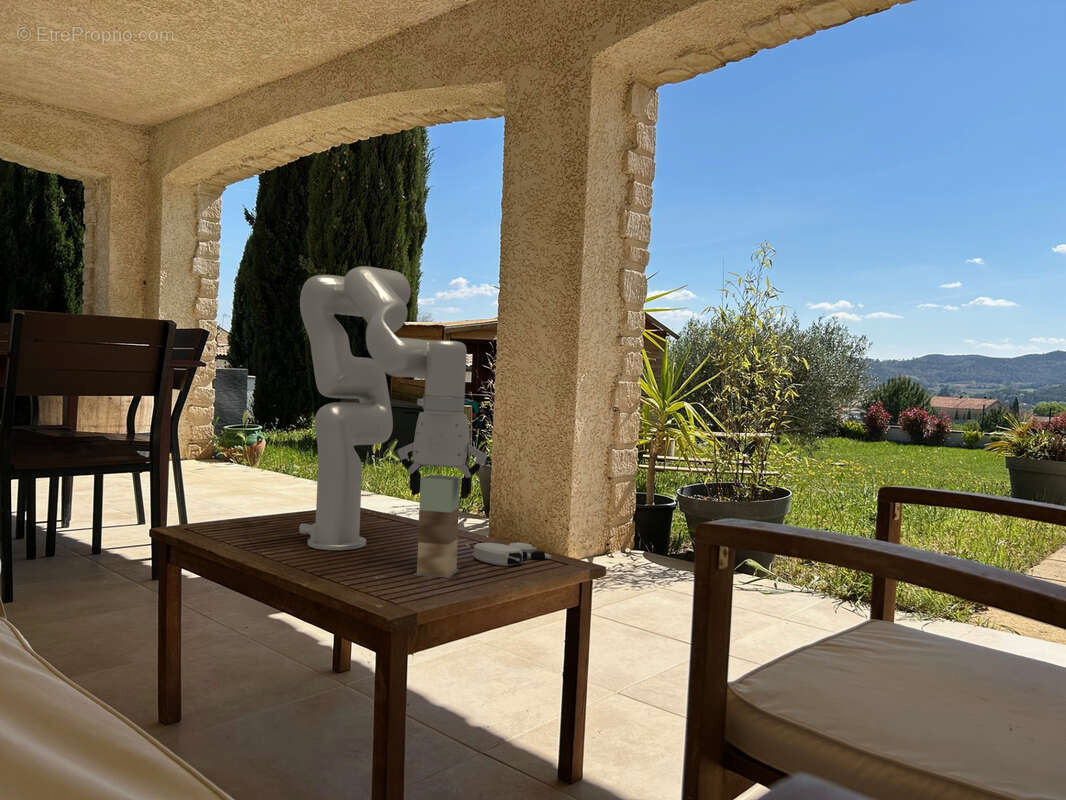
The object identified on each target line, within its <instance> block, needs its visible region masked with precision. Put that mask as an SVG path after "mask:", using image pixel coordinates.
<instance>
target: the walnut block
mask: <svg viewBox="0 0 1066 800" xmlns="http://www.w3.org/2000/svg"><path fill="white" fill-rule="evenodd" d="M459 509H460V507H459V508H458V509H456V510H454V511H452V512H451V513H450V512H437V511H424V510H419V511H418V529H417V530H418V532H417V543H418V542H422V543H434V544H446V545H449V544H451V543H452V542H453V541H455V540H456V539H458V532H459V516H460V515H459V512H460V510H459Z"/></svg>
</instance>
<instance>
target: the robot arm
mask: <svg viewBox="0 0 1066 800" xmlns="http://www.w3.org/2000/svg"><path fill="white" fill-rule="evenodd" d="M411 291H412V290H411V285H410V282H409V281H408V279H407V277H406V276H405V275H404V274H403V273H401V272H399V271H397V270H392V269H385V268H378V267H376V266H375V267H373V266H363V265H362V266H357V267H354V268H352V269H350V270H348V272H347V274H345V276H342V275H341V276H340V275H334V274H317V275H314V276H311V277H309V278H308V279H306V281H305V282H304V284H303V285H302V289H301V291H300V295H299V296H300V297H299V308H300V316H301V318H302V322H303V324H304V325H303V326H304V327H305V329H306V333H307V336H308V338H309V339H308V340H309V344H310V350H311V358H312V365H313V372H314V378H315V384H316V388H317V390H318V392H319V394H321V395H322V396H324V397H326V398H332V399H358V401H359V402H357V401H356V402H355V401H354V402H353V401H348V402H347V401H340V402H339V401H337V402H336V401H334V402H330V403H327V404H325V405H323V406H321V407H320V408H319V409H318V410H317V412H316V414H315V418H314V429H315V437H316V444H317V480H316V482H317V483H316V486H317V487H316V501H315V502H316V504H315V505H316V508H315V509H316V510H315V523H312V524H309V523H300V525H299V528H298V530H299V533H300V534H305V535H306V534H307V535H309V536H310V538H308V539H307V546H308V547H310V548H313V549H316V550H322V551H323V550H325V551H349V550H356V549H361V548H363V547H366V545H367V539H366V538H365V537H363V536H360V527H361V505H362V503H361V501H362V481H363V480H362V478H363V466H362V461H361V458H360V455H358V453H357V451H356V450H355V446H363V445H364V446H368V445H369V446H371V445H381V444H383V443H385V442H388V440H390V437H391V435H392V433H393V428H394V423H393V420H394V419H393V412H392V406H391V400H390V394H389V388H388V382H387V380H388V379H387V376H386V375H388V376H391V377H395V378H417V379H425V382H424V395H423V397H422V398H417V399H416V404H417V406H418V407H419V406H421V407H422V410H423V411H421V412H419V414H418V417H417V421H416V427H415V433H414V438H413V439H414V440H413V442H411V443H410V444H407V445H405V446H402V447H401V448H398V449H397V454H398V457H399V459H400V461H401V464H402V465H403V467H404V468H405V469H406V470H407V472H408V473H409V490H411V496H416V495H418V494H420V486H421V478H422V474H421V472H420V469H421V468H422V467H423V466H428V467H440V468H441V467H442V468H458V469H459V470H460V472H461V473H462V474H463V477H462V478H461V480H460V498H461V499H462V500H464V499H467V498H469V495H471V493H472V487H473V486H472V483H473V481H472V479H473V476H474V475H475V474H477V473H478V472H479V471H480V470H481V469H482V466H484V463H485V462H486V460H487V458H488V455H487V454H486V453H485V452H483V451H481V450H480V449H478V448H476V447H475V446H473V445H471V443H470V440H471V439H470V428H469V427H470V425H469V418H468V414H466V413H465V396H466V395H465V394H466V393H465V391H466V373H467V371H466V370H467V354H468V353H467V346H466V344H465V343H463V342H462V341H456V340H441V339H440V340H429V339H428V340H427V339H421V338H412V337H411V338H409V337H398V336H397V335H396V334H395V333H396V332H397V331H398V330H400V329H401V328H402V327H403V326H404V324H405V323H406V321H407V318H408V307H407V304H408V303H409V301H410V298H411ZM335 315H342V316H352V317H353V316H354V317H361V318H362V317H363V319H364V321H365V322H366V323H367V326H366V329H365V343H366V349H367V351H368V354H369V356H370V357H371V358H369V357H361V356H360V357H359V356H354V355H353V354H352V350H351V347H350V340H349V335H348V333H347V331H346V330H345V328H344V326H343V325H342V324H341V323H340V321H338V319H337V318H336V317H335ZM409 452H412V460H413V461H412V460H411V459H410V458H409V456H408V453H409ZM470 455H472V456H473V457H475V458H476V461H475V464H473V466H471V465H470V464H469V462H470Z"/></svg>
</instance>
